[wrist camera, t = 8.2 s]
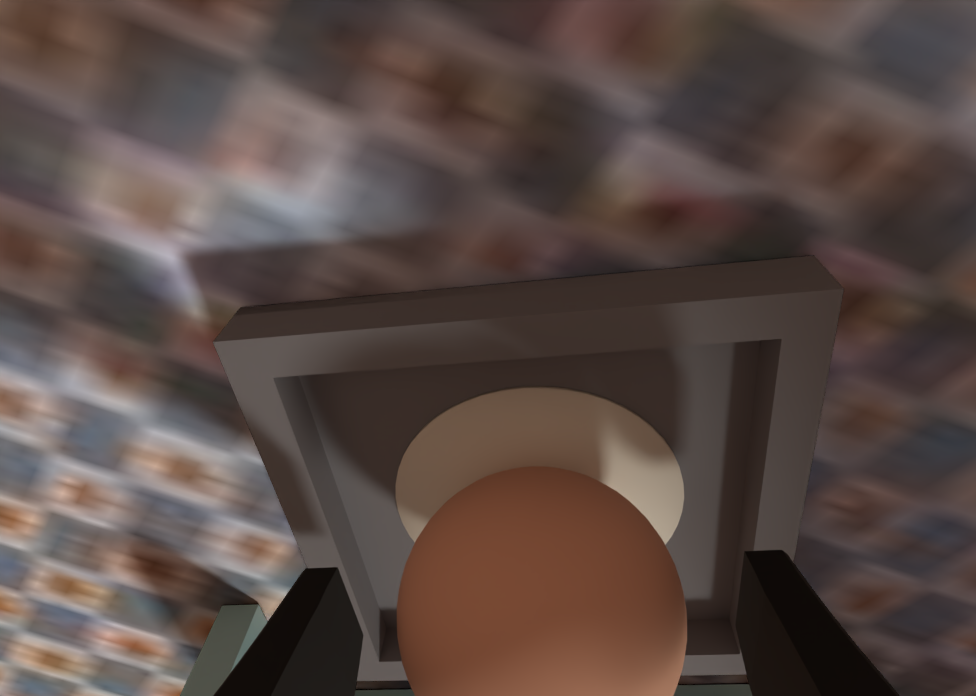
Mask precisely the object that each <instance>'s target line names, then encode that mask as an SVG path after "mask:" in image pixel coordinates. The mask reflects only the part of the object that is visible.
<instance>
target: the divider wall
mask: <svg viewBox="0 0 976 696" xmlns="http://www.w3.org/2000/svg"><path fill="white" fill-rule="evenodd" d="M266 624H267V620H266V618H265V616H264V614H263V612H262V610H261V608H260V606H259V604H256V605H226V606H222V607H221V609H220V611H219V613H218V615H217V617H216V620H215V622H214V624H213V626H212V628H211V630H210V632H209V635H208V637H207V639H206V641H205V643H204V645H203V647H202V650H201V652H200V654H199V656H198V658H197V660H196V662H195V664H194V667H193V669H192V671H191V673H190V675H189V677H188V679H187V682H186V684H185V686H184V688H183V690H182V692H181V694H180V696H213V695H214V694H215V693H216V691H217V690H218V689H219V687H220V686H221V685H222V684H223V682H224V681H225V680H226V678H227V677H228V676H229V674H230V673H231V671H232V670H233V669H234V667H235V666H236V665H237V663H238V662H239V661H240V659H241V658H242V657H243V655H244V654H245V653H246V651H247V650H248V649H249V647H250V646H251V645H252V643H253V642H254V640H255V639H256V638H257V636H258V635H259V633H260V632H261V631H262V629H263V628H264V626H265V625H266ZM354 696H415V695H414V693H413V691H412V689H408V690H355V695H354ZM673 696H752V693H751V690H750V686H749V684H729V685H677V688H676V690H675V693H674V695H673Z"/></svg>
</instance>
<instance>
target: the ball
mask: <svg viewBox="0 0 976 696" xmlns="http://www.w3.org/2000/svg"><path fill="white" fill-rule="evenodd" d="M397 638H398V644H399V649H400V655H401V659H402V664H403V667H404V670H405V673H406V676H407V679H408V682H409V684H410V686H411V688H412V691H413V693H414V695H415V696H673V695H674V693H675V690H676V688H677V685H678V682H679V679H680V675H681V672H682V669H683V664H684V658H685V651H686V644H687V612H686V605H685V598H684V593H683V589H682V585H681V581H680V578H679V575H678V572H677V569H676V566H675V564H674V562H673V559H672V557H671V555H670V553H669V551H668V549H667V547H666V545H665V543H664V542H663V540H662V538H661V537H660V535H659V534H658V533H657V531H656V530H655V529H654V527H653V526H652V525H651V523H650V522H649V520H648V519H647V518H646V517H645V516H644V515H643V514H642V513H641V512H640V511H639V510H638V509H637V508H636V507H635V506H634V505H633V504H632V503H631V502H630V501H629V500H628V499H626V498H625V497H624V496H622V495H621V494H620V493H618V492H617V491H615V490H614V489H612V488H610V487H609V486H607V485H605V484H603V483H602V482H600V481H598V480H596V479H594V478H591V477H589V476H587V475H584V474H581V473H577V472H574V471H570V470H565V469H560V468H555V467H544V466H530V467H520V468H514V469H509V470H505V471H501V472H497V473H494V474H491V475H488V476H486V477H484V478H482V479H479V480H477V481H475V482H474V483H472V484H470V485H469V486H467V487H465V488H464V489H462V490H461V491H459V492H458V493H456V494H455V495H454V496H453V497H451V498H450V499H449V500H448V501H447V502H446V503H445V504H444V505H443V506H442V507H441V508H440V509H439V510H438V511H437V512H436V513H435V514H434V515H433V516H432V517H431V519H430V520H429V521H428V523H427V524H426V526H425V527H424V529H423V530H422V532H421V533H420V535H419V536H418V538H417V539H416V541H415V544H414V546H413V548H412V550H411V552H410V555H409V557H408V559H407V562H406V564H405V567H404V571H403V575H402V578H401V583H400V587H399V593H398V601H397Z"/></svg>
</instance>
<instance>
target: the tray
mask: <svg viewBox="0 0 976 696" xmlns="http://www.w3.org/2000/svg"><path fill="white" fill-rule="evenodd" d="M843 292H844V288H843V287H842V286H841V285H840V284H839V283H838V282H837V280H836V279H835V278H834V277H833V276H832V275H831V274H830V273H829V272H828V270H827V269H826V268H825V267H824V266H823V265H822V264H821V263H820V262H819V261H818V259H817V258H816V257H815V256H803V257H792V258H781V259H770V260H759V261H748V262H737V263H726V264H715V265H704V266H693V267H682V268H671V269H660V270H649V271H638V272H627V273H616V274H605V275H594V276H583V277H572V278H561V279H550V280H539V281H528V282H517V283H506V284H495V285H484V286H473V287H462V288H451V289H440V290H429V291H418V292H407V293H396V294H385V295H374V296H363V297H352V298H341V299H330V300H319V301H308V302H297V303H286V304H275V305H264V306H253V307H241V308H240V309H239V310H238V311H237V313H236V314H235V315H234V316H233V317H232V319H231V320H230V321H229V322H228V324H227V325H226V326H225V327H224V329H223V330H222V331H221V332H220V334H219V335H218V336H217V337H216V339H215V340H214V341H213V344H214V346H215V349H216V351H217V353H218V356H219V358H220V361H221V363H222V365H223V368H224V370H225V372H226V375H227V377H228V380H229V382H230V384H231V387H232V389H233V391H234V394H235V396H236V399H237V401H238V403H239V406H240V408H241V411H242V413H243V415H244V418H245V420H246V422H247V425H248V427H249V430H250V432H251V434H252V437H253V439H254V441H255V444H256V446H257V449H258V451H259V453H260V456H261V458H262V461H263V463H264V465H265V468H266V470H267V472H268V475H269V477H270V480H271V482H272V484H273V487H274V489H275V491H276V494H277V496H278V499H279V501H280V503H281V506H282V508H283V511H284V513H285V515H286V518H287V520H288V522H289V525H290V527H291V530H292V532H293V534H294V537H295V539H296V541H297V544H298V546H299V549H300V551H301V553H302V556H303V558H304V561H305V563H306V565H307V568H328V567H338V569H339V572H340V575H341V577H342V580H343V583H344V585H345V588H346V590H347V593H348V596H349V598H350V601H351V603H352V606H353V609H354V611H355V614H356V617H357V619H358V622H359V624H360V627H361V630H362V632H363V642H362V650H361V657H360V664H359V671H358V677H357V681H397V680H408V679H407V676H406V673H405V670H404V667H403V664H402V659H401V655H400V649H399V644H398V638H397V601H398V593H399V587H400V583H401V578H402V575H403V571H404V567H405V564H406V562H407V559H408V557H409V555H410V552H411V550H412V548H413V546H414V544H415V541H416V539H417V538H418V536H419V535H420V533H421V532H422V530H423V529H424V527H425V526H426V524H427V523H428V521H429V520H430V519H431V517H432V516H433V515H434V514H435V513H436V512H437V511H438V510H439V509H440V508H441V507H442V506H443V505H444V504H445V503H446V502H447V501H448V500H449V499H450V498H451V497H453V496H454V495H455V494H456V493H458V492H459V491H461V490H462V489H464V488H465V487H467V486H469V485H470V484H472V483H474V482H475V481H477V480H479V479H482V478H484V477H486V476H488V475H491V474H494V473H497V472H501V471H505V470H509V469H514V468H520V467H530V466H544V467H555V468H560V469H565V470H570V471H574V472H577V473H581V474H584V475H587V476H589V477H591V478H594V479H596V480H598V481H600V482H602V483H603V484H605V485H607V486H609V487H610V488H612V489H614V490H615V491H617V492H618V493H620V494H621V495H622V496H624V497H625V498H626V499H628V500H629V501H630V502H631V503H632V504H633V505H634V506H635V507H636V508H637V509H638V510H639V511H640V512H641V513H642V514H643V515H644V516H645V517H646V518H647V519H648V520H649V522H650V523H651V525H652V526H653V527H654V529H655V530H656V531H657V533H658V534H659V535H660V537H661V538H662V540H663V542H664V543H665V545H666V547H667V549H668V551H669V553H670V555H671V557H672V559H673V562H674V564H675V566H676V569H677V572H678V575H679V578H680V581H681V585H682V589H683V593H684V598H685V605H686V612H687V644H686V651H685V658H684V664H683V669H682V672H681V675H680V676H685V675H743V674H746V670H745V666H744V661H743V657H742V653H741V648H740V644H739V639H738V635H737V631H736V626H735V623H736V615H737V607H738V599H739V591H740V582H741V574H742V566H743V558H744V551H761V550H783V551H784V552H785V553H787V554H788V555H789V557H790V558H791V560H792V561H793V562H794V557H795V552H796V546H797V541H798V535H799V530H800V525H801V519H802V514H803V508H804V503H805V498H806V492H807V487H808V481H809V476H810V470H811V465H812V460H813V454H814V449H815V443H816V438H817V433H818V427H819V422H820V416H821V411H822V406H823V400H824V395H825V389H826V384H827V379H828V373H829V368H830V362H831V357H832V351H833V346H834V341H835V335H836V330H837V324H838V319H839V314H840V308H841V303H842V297H843Z"/></svg>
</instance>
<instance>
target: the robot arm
mask: <svg viewBox="0 0 976 696" xmlns="http://www.w3.org/2000/svg"><path fill="white" fill-rule="evenodd" d="M735 626H736V631H737V635H738V639H739V644H740V648H741V653H742V657H743V661H744V666H745V670H746V674H747V678H748V682H749V686H750V690H751V693H752V696H900V695H899V694H898V693H897V692H896V691H895V690H894V688H893V687H892V686H891V685H890V684H889V683H888V682H887V680H886V679H885V678H884V677H883V676H882V674H881V673H880V672H879V671H878V670H877V669H876V667H875V666H874V665H873V664H872V663H871V661H870V660H869V659H868V658H867V657H866V655H865V654H864V653H863V652H862V651H861V650H860V648H859V647H858V646H857V645H856V644H855V642H854V641H853V640H852V639H851V637H850V636H849V635H848V634H847V632H846V631H845V630H844V629H843V627H842V626H841V625H840V624H839V622H838V621H837V620H836V619H835V617H834V616H833V615H832V613H831V612H830V611H829V610H828V608H827V607H826V606H825V605H824V603H823V602H822V601H821V599H820V598H819V597H818V595H817V594H816V593H815V591H814V590H813V589H812V587H811V586H810V585H809V583H808V582H807V581H806V579H805V578H804V576H803V575H802V574H801V572H800V571H799V570H798V568H797V567H796V565H795V564H794V563H793V561H792V560H791V558H790V557H789V555H788V554H787V553H785V552H784V551H783V550H761V551H744V558H743V566H742V574H741V582H740V591H739V599H738V607H737V615H736V623H735ZM362 642H363V632H362V630H361V627H360V624H359V622H358V619H357V617H356V614H355V611H354V609H353V606H352V603H351V601H350V598H349V596H348V593H347V590H346V588H345V585H344V583H343V580H342V577H341V575H340V572H339V569H338V567H328V568H306V569H305V570H304V571H303V572H302V573H301V575H300V576H299V578H298V579H297V580H296V582H295V583H294V585H293V586H292V588H291V589H290V591H289V592H288V593H287V595H286V596H285V598H284V599H283V601H282V602H281V604H280V605H279V606H278V608H277V609H276V611H275V612H274V614H273V615H272V616H271V618H270V619H269V621H268V622H267V624H266V625H265V626H264V628H263V629H262V631H261V632H260V633H259V635H258V636H257V638H256V639H255V640H254V642H253V643H252V645H251V646H250V647H249V649H248V650H247V651H246V653H245V654H244V655H243V657H242V658H241V659H240V661H239V662H238V663H237V665H236V666H235V667H234V669H233V670H232V671H231V673H230V674H229V676H228V677H227V678H226V680H225V681H224V682H223V684H222V685H221V686H220V687H219V689H218V690H217V691H216V693H215V694H214V695H213V696H354V695H355V689H356V683H357V677H358V671H359V664H360V657H361V650H362Z"/></svg>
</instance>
